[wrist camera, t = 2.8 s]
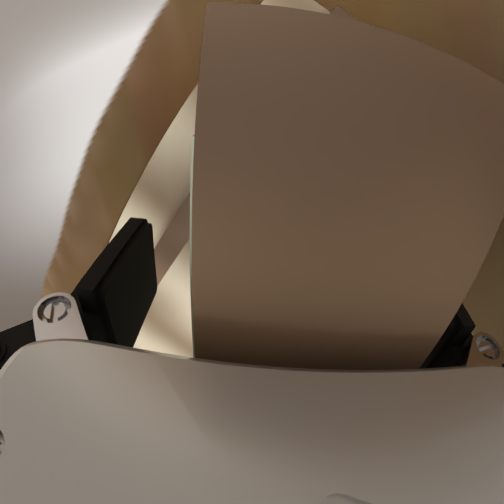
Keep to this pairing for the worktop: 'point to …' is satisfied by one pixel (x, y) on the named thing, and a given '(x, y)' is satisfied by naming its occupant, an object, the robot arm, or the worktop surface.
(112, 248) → the robot arm
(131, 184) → the worktop surface
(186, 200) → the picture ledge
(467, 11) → the worktop surface
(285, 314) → the brown rectangular block
